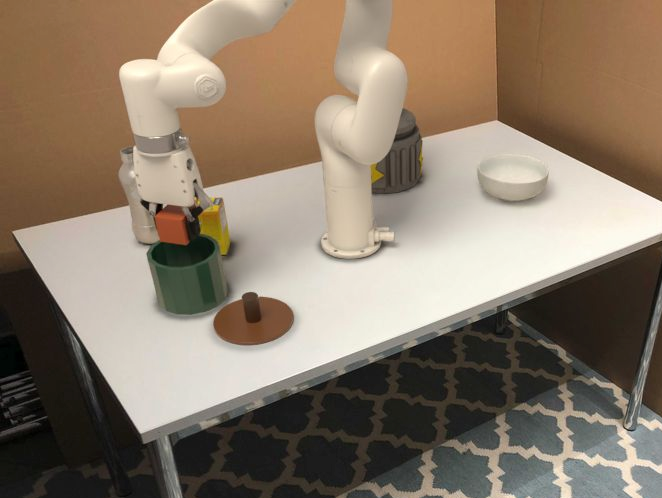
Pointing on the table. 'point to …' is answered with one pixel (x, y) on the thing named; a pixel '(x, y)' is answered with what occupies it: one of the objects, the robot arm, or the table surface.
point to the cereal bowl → (512, 176)
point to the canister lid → (253, 320)
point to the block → (172, 225)
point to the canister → (188, 275)
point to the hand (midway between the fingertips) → (179, 234)
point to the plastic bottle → (140, 215)
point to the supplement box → (215, 224)
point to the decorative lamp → (400, 159)
